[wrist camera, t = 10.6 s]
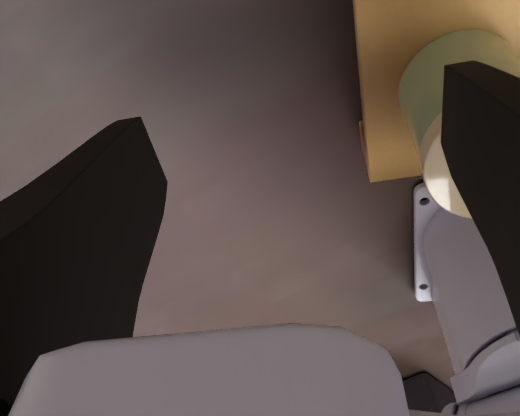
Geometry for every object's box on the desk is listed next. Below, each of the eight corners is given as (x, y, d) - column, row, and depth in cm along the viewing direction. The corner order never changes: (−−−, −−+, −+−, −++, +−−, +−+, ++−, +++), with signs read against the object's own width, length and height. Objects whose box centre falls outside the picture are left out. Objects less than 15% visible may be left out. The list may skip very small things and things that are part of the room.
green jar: (514, 129, 19) (572, 209, 15) (396, 147, 20) (423, 228, 16) (530, 13, 16) (607, 76, 12) (392, 39, 17) (424, 106, 13)
